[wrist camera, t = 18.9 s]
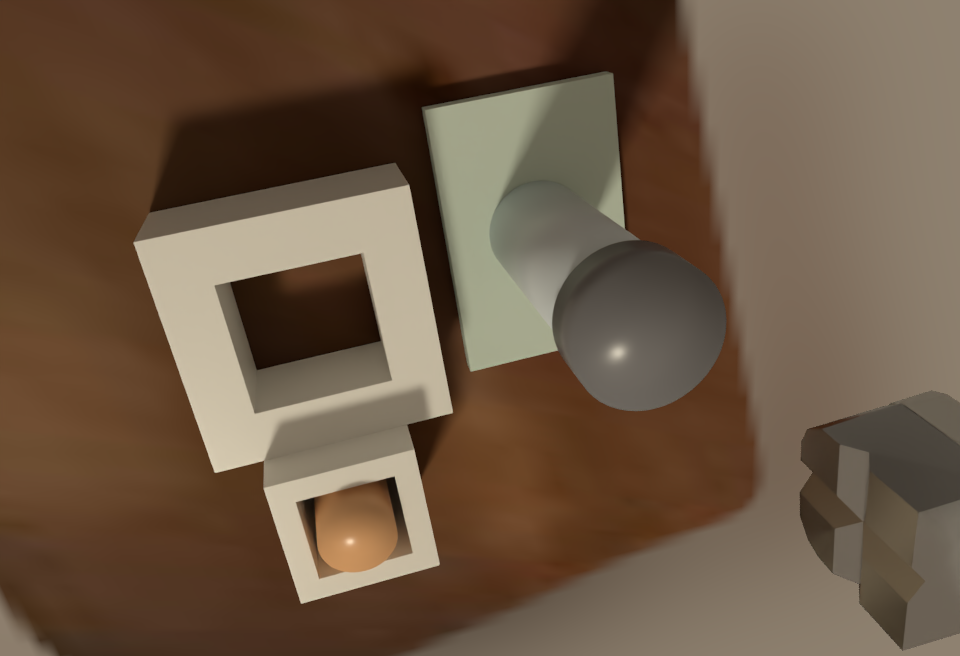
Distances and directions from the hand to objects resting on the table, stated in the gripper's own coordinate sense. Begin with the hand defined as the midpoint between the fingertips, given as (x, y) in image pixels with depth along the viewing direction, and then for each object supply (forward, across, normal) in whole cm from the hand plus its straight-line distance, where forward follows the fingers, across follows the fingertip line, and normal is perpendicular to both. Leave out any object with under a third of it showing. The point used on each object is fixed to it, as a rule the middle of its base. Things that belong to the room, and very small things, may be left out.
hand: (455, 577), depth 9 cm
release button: (+24, +3, +16) cm, 28 cm away
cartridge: (+26, -8, +7) cm, 28 cm away
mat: (+27, -8, +7) cm, 29 cm away
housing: (+26, +3, +11) cm, 29 cm away
